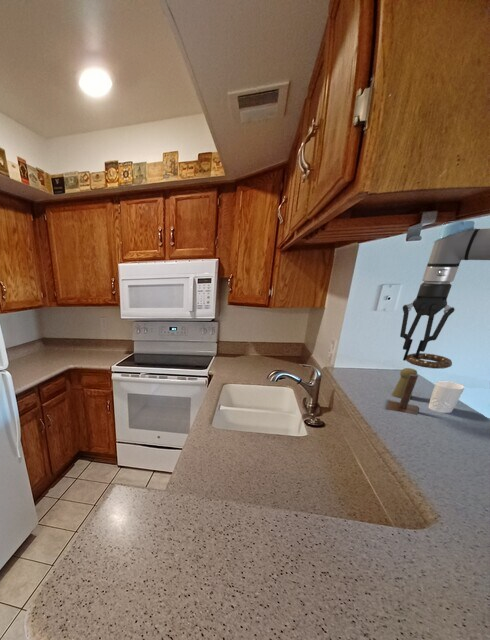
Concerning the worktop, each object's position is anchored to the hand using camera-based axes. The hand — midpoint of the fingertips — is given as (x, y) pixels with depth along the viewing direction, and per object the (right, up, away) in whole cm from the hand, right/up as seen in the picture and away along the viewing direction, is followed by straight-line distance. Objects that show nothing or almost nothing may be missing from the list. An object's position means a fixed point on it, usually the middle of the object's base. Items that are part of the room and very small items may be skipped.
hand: (409, 360), depth 109 cm
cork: (+13, -10, +22) cm, 27 cm away
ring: (+4, -1, -3) cm, 5 cm away
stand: (+4, -16, +9) cm, 19 cm away
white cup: (+17, -17, +8) cm, 25 cm away
